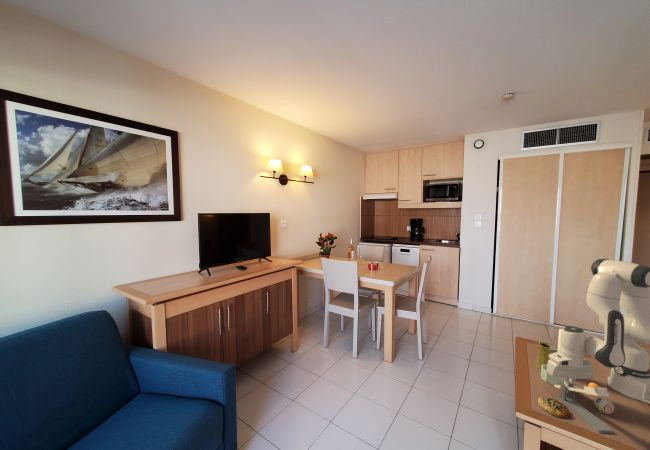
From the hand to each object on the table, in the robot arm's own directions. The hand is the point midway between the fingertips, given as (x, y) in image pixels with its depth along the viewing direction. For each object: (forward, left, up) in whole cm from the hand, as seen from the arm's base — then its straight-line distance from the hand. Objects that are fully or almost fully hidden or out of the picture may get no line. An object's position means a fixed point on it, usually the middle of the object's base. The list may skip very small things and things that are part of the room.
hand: (568, 385), depth 128 cm
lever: (+2, +10, +4) cm, 11 cm away
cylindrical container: (-12, -15, -5) cm, 20 cm away
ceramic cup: (-15, -28, -5) cm, 33 cm away
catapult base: (+6, +13, -4) cm, 15 cm away
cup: (0, -9, -4) cm, 10 cm away
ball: (+6, +17, +11) cm, 21 cm away
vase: (-4, -20, -5) cm, 21 cm away
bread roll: (+17, +11, -5) cm, 21 cm away
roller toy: (-6, +11, -5) cm, 14 cm away
